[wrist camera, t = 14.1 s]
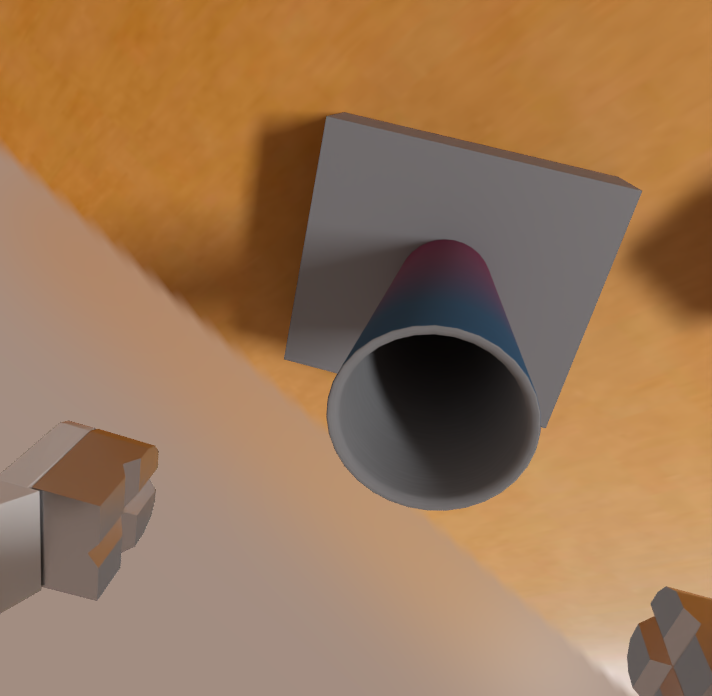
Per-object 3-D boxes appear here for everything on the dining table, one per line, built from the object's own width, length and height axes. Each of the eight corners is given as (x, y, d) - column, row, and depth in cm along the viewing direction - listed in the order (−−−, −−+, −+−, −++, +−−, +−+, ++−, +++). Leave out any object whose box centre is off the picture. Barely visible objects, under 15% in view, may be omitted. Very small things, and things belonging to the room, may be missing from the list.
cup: (423, 362, 35) (398, 538, 21) (358, 264, 33) (285, 388, 20) (531, 304, 32) (580, 461, 19) (466, 196, 31) (469, 283, 17)
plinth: (303, 328, 41) (284, 359, 36) (344, 112, 35) (326, 116, 30) (536, 389, 40) (545, 428, 35) (618, 177, 34) (642, 190, 29)
